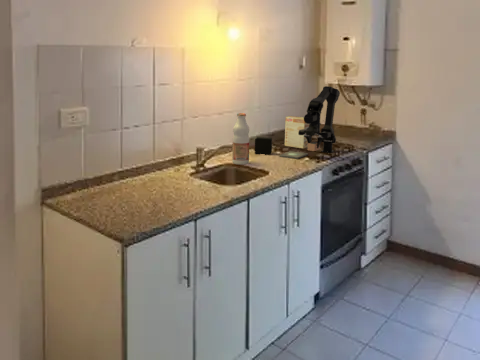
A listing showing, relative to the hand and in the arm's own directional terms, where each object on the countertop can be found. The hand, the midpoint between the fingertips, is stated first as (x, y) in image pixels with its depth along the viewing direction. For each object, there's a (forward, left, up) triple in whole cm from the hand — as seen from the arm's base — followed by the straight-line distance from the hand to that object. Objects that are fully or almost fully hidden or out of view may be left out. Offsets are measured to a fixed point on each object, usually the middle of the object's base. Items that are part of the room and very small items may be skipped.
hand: (313, 147), depth 317 cm
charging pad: (+2, -12, -6) cm, 14 cm away
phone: (0, 0, -1) cm, 1 cm away
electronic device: (+8, -30, -6) cm, 32 cm away
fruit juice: (+38, -28, -6) cm, 48 cm away
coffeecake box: (-27, -24, -6) cm, 37 cm away
